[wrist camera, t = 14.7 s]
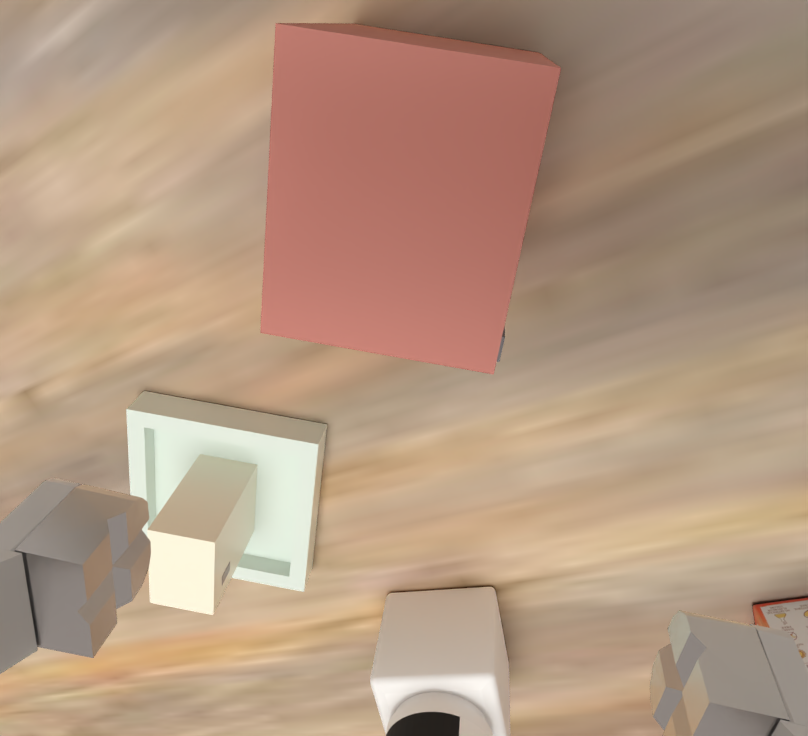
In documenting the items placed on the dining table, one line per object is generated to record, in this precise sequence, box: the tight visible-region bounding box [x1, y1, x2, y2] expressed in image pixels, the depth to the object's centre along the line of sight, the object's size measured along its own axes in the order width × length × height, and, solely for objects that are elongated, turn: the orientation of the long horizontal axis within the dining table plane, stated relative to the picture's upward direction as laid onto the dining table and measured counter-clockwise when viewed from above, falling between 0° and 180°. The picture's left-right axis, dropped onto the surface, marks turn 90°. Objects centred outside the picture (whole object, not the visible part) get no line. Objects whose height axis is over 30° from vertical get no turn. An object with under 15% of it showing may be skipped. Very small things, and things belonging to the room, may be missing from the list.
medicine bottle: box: [370, 587, 510, 736], centre depth 41 cm, size 7×7×12 cm
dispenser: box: [260, 23, 561, 374], centre depth 28 cm, size 9×10×12 cm
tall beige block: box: [147, 454, 258, 615], centre depth 40 cm, size 4×5×7 cm
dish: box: [126, 391, 327, 592], centre depth 43 cm, size 11×11×2 cm
